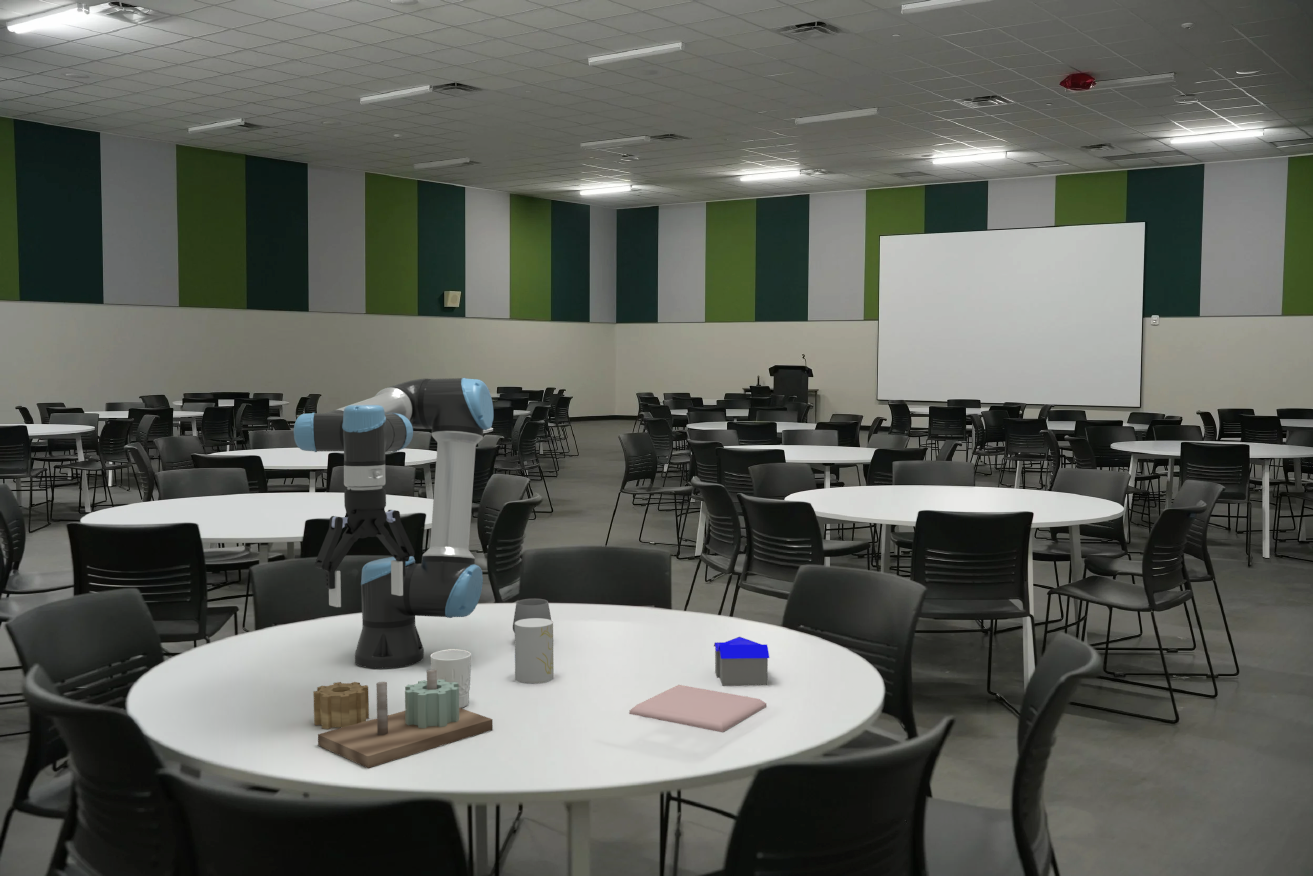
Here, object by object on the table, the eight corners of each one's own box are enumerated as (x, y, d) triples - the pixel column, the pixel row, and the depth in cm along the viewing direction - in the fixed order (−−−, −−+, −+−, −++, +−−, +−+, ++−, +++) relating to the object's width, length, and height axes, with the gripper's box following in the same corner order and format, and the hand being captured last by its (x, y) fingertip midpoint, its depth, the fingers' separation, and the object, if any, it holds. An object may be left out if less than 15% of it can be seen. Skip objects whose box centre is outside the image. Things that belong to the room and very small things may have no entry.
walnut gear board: (318, 745, 193) (316, 683, 192) (440, 711, 212) (439, 655, 211) (367, 768, 182) (366, 703, 181) (492, 730, 201) (491, 670, 200)
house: (713, 673, 238) (713, 636, 238) (762, 672, 238) (762, 636, 238) (718, 687, 228) (718, 649, 227) (769, 686, 228) (769, 648, 227)
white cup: (433, 699, 219) (432, 649, 219) (473, 698, 220) (472, 648, 219) (428, 711, 212) (427, 660, 211) (470, 710, 212) (469, 659, 212)
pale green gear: (394, 722, 199) (393, 689, 199) (432, 708, 207) (431, 676, 207) (432, 731, 194) (432, 698, 193) (470, 716, 202) (469, 684, 201)
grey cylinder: (547, 684, 229) (546, 628, 228) (509, 682, 231) (509, 626, 230) (558, 674, 237) (557, 619, 236) (522, 671, 239) (521, 617, 238)
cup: (560, 641, 265) (559, 600, 264) (535, 650, 257) (535, 608, 256) (529, 636, 270) (529, 596, 269) (504, 644, 262) (504, 603, 261)
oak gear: (305, 721, 206) (304, 689, 205) (350, 709, 213) (350, 679, 212) (332, 732, 199) (331, 700, 199) (378, 720, 206) (377, 688, 206)
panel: (642, 686, 230) (641, 675, 230) (786, 712, 212) (786, 700, 212) (538, 734, 201) (537, 721, 200) (695, 769, 183) (695, 755, 183)
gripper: (316, 494, 193) (318, 613, 194) (431, 483, 212) (433, 592, 213) (293, 491, 198) (296, 608, 199) (408, 481, 217) (409, 588, 218)
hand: (366, 600), depth 206 cm, fingers open, 13 cm apart
